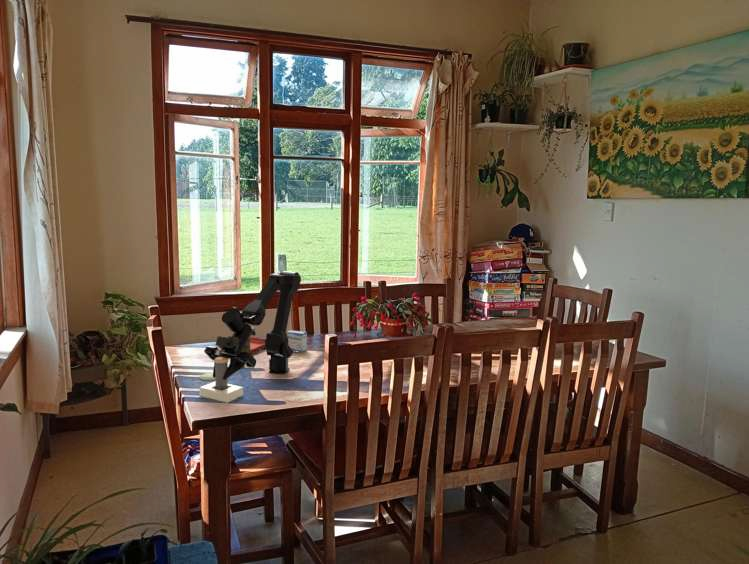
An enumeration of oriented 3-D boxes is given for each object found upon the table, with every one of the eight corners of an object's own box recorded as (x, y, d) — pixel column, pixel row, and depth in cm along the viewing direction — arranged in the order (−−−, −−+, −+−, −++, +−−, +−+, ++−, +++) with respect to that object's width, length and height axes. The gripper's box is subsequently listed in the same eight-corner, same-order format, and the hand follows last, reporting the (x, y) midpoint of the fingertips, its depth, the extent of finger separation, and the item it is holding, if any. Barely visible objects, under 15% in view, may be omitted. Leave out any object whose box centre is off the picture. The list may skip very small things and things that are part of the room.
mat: (225, 374, 223) (225, 373, 223) (216, 381, 215) (216, 380, 215) (205, 373, 224) (205, 372, 224) (195, 379, 217) (195, 378, 217)
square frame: (215, 389, 207) (215, 380, 207) (243, 395, 202) (243, 387, 202) (199, 395, 200) (199, 387, 200) (227, 402, 195) (227, 393, 194)
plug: (230, 394, 203) (230, 357, 201) (225, 398, 199) (225, 361, 197) (217, 393, 204) (217, 356, 202) (212, 397, 199) (212, 360, 197)
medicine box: (285, 351, 259) (286, 331, 258) (290, 348, 263) (290, 329, 262) (302, 353, 257) (302, 333, 255) (306, 350, 261) (307, 331, 260)
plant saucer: (273, 346, 267) (273, 339, 266) (251, 356, 250) (251, 349, 250) (238, 341, 273) (238, 334, 272) (215, 351, 256) (215, 343, 256)
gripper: (207, 323, 205) (185, 361, 197) (251, 330, 197) (230, 370, 189) (222, 340, 213) (201, 378, 205) (265, 347, 205) (245, 387, 197)
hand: (218, 378), depth 199 cm, fingers closed on plug, 4 cm apart
